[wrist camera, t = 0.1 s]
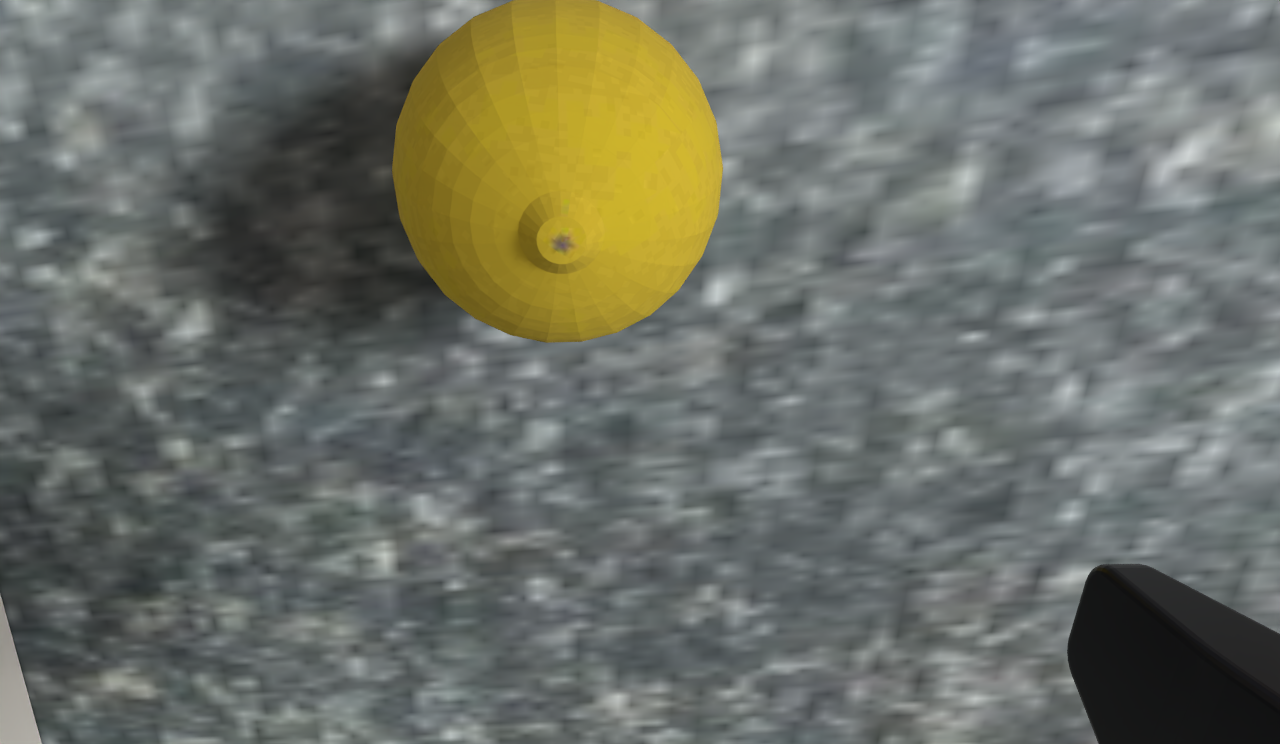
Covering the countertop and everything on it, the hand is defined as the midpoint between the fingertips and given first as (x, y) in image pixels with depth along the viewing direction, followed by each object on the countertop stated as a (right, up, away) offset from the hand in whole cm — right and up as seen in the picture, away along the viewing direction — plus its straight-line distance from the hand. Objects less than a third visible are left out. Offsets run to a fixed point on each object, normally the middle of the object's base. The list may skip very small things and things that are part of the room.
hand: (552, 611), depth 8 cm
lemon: (-1, +7, +13) cm, 15 cm away
